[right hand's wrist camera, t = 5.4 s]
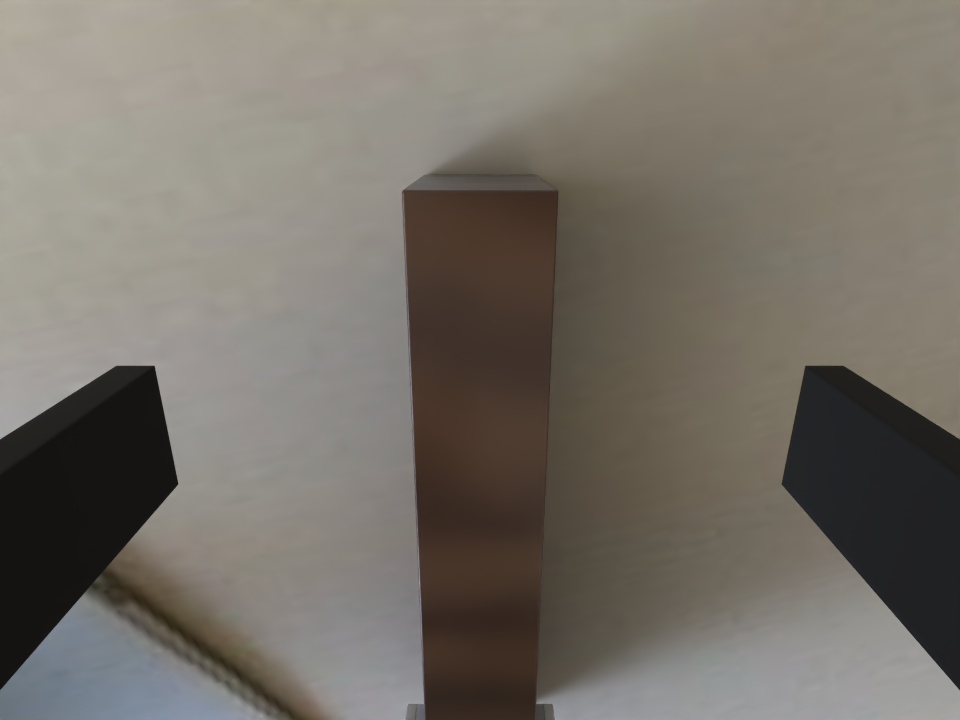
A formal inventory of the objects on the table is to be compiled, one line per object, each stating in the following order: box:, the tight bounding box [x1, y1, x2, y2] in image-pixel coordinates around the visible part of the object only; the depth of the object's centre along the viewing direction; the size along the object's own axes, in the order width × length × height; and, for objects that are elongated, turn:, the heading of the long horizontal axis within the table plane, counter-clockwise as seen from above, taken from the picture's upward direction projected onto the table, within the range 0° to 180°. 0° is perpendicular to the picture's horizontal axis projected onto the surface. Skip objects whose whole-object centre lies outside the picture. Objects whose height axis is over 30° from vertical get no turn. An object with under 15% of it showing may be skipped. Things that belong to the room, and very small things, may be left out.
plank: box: [402, 175, 558, 720], centre depth 29 cm, size 32×5×8 cm, turn 0°
